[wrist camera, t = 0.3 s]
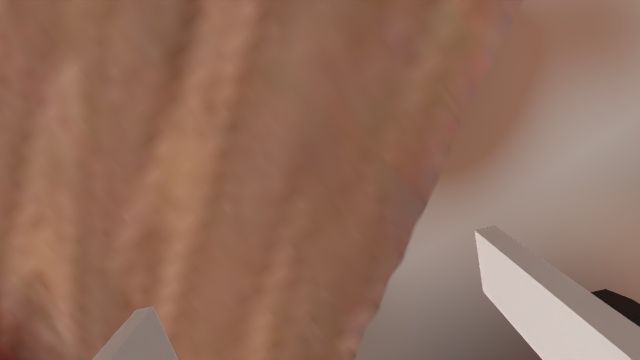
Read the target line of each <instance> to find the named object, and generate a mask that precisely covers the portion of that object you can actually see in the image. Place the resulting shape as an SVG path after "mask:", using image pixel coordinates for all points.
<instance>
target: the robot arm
mask: <svg viewBox="0 0 640 360" xmlns="http://www.w3.org/2000/svg"><path fill="white" fill-rule="evenodd" d="M475 236H476V243H477V250H478V258H479V265H480V272H481V280H482V287H483V292H484V293H485V294H486V295H487V296H488V298H489V299H490V300H491V301H492V302H493V303H494V304H495V306H496V307H497V308H498V309H499V310H500V311H501V312H502V313H503V315H504V316H505V317H506V318H507V319H508V320H509V322H510V323H511V324H512V325H513V326H514V327H515V329H516V330H517V331H518V332H519V333H520V334H521V335H522V337H523V338H524V339H525V340H526V341H527V342H528V343H529V345H530V346H531V347H532V348H533V349H534V350H535V351H536V353H537V354H538V355H539V356H540V357H541V358H542V360H640V304H639V303H637V302H635V301H634V300H632V299H630V298H627V297H625V296H622V295H620V294H617V293H614V292H612V291H609V290H606V289H604V290H600V291H595V292H589V291H587V290H586V289H584V288H583V287H582V286H580V285H579V284H577V283H576V282H574V281H573V280H572V279H570V278H569V277H567V276H566V275H564V274H563V273H562V272H560V271H559V270H557V269H556V268H555V267H553V266H552V265H550V264H549V263H547V262H546V261H544V260H543V259H542V258H540V257H539V256H537V255H536V254H534V253H533V252H531V251H530V250H529V249H527V248H526V247H524V246H523V245H522V244H520V243H519V242H517V241H516V240H515V239H513V238H512V237H510V236H509V235H507V234H506V233H505V232H503V231H502V230H500V229H499V228H497V227H496V226H491V227H487V228H483V229H478V230H475ZM92 360H178V358H177V356H176V354H175V352H174V350H173V348H172V346H171V343H170V341H169V339H168V337H167V335H166V333H165V331H164V328H163V326H162V324H161V322H160V320H159V318H158V316H157V313H156V311H155V309H154V307H153V306H151V307H147V308H142V309H138V310H135V311H134V312H133V314H132V315H131V316H130V317H129V318H128V319H127V320H126V322H125V323H124V324H123V325H122V326H121V327H120V328H119V330H118V331H117V332H116V333H115V334H114V335H113V336H112V338H111V339H110V340H109V341H108V342H107V343H106V344H105V345H104V347H103V348H102V349H101V350H100V351H99V352H98V353H97V355H96V356H95V357H94V358H93V359H92Z"/></svg>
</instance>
